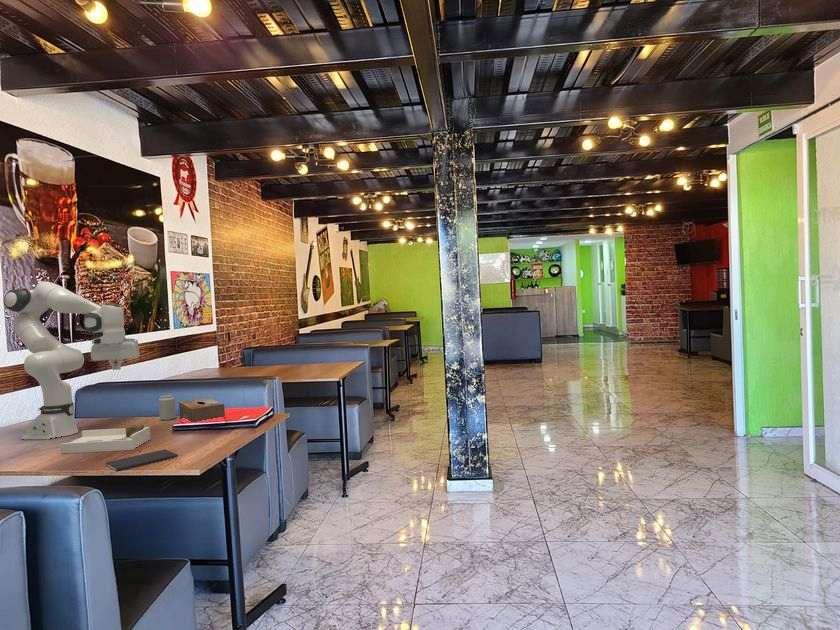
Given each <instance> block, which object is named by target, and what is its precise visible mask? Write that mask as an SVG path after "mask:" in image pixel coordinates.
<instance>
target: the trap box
mask: <svg viewBox="0 0 840 630" xmlns="http://www.w3.org/2000/svg"><path fill="white" fill-rule="evenodd" d="M143 428H144V429H142V430H140V431H138V432H136V433H134V434H133V435H131V436H130V437H126V427H125V428H124V427H123V428H106V429H105V428H104V429H103V428H102V429H88V430H81V437H79V438H76V439H74V440H72V441H70V442H62V443H60V445H59V446H60V454H61V453H68V454H83V453H85V454H87V453H100V452H101V453H102V452H118V451H133V450H135V449H136V447H137V448H138V447H140V446H142V445H143V443H144V442H145V443H147V442H149V441H151V430H150V426H143ZM148 440H149V441H148ZM146 441H147V442H146ZM145 443H144V444H145ZM141 444H142V445H141ZM139 445H140V446H139Z"/></svg>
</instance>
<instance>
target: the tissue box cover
mask: <svg viewBox="0 0 840 630" xmlns="http://www.w3.org/2000/svg"><path fill="white" fill-rule="evenodd" d="M178 405H179V406H178V408H179V409H178V410H179V420H180V419H182V418H185V419H188V420H189V421H191V422H197V421H202V420H207V419H213V418H218V417H224V416H225V417H226V413H225V412H226V410H225V409H226V408H225V404H224V403H222V402H220V401H218V400H216V399H213V398H212V397H204V398H197V399H190V400H189V399H188V400H183V401H179V402H178Z"/></svg>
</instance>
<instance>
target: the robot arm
mask: <svg viewBox="0 0 840 630" xmlns="http://www.w3.org/2000/svg"><path fill="white" fill-rule="evenodd" d="M3 305H4V307H5V308H6V309H7V310H9V311H11V312H14V313H18V314H17V315H16V316H14V318H12V322H11V324H12V327H13V330H14V331H15V334H16V335H17V337H18V338H19V340H20V341H21V342H22V344H24V346H25V348H26V349H27V350H28V351H29V352H30V353H32V354H28V355H27V356H26V357H25V358H24V362H23V368H24V371H25V372H26V373H27V374H28V375H29V376H31V377H33V378H34V379H35V380H36V381H37V382H38V384H39V387H40V388H41V391H42V398H43V405H42V406H41V407H38V410H37V411H40V413H39V415H37V416H36V417H35V418H34V419H33V420H31V421H30V422H29V423H28V424H27V426H26V433H25V434H23V435H21V436H20V440H22V439H24V440H51V439H50V438H52V439H56V438H55V437H57V438H62V437H67V436H71V435H75V434H77V433H79V429H78V427H77V424H76V419H75V415H74V414H75V405H74V401H73V393H72V392H73V391H72V386H71V385H70V383H68V382H65V381H64V380H62V379H61V377H60V374H65V373H70V372H71V373H72V372H73V371H77V370H80V369H81V368H82V367H83V365H84V363H85V356H84V354H83V352H82V351H81V350H79V349H77V348H73V347H70V346H68V345H66V344H64V343H63V342H61V341H60V340H58V339H56V338H55V337H54V336H53V335H52V334H51V333H50V331H49V330H48V329H47V328H46V326H45V325H44V324H43V323H42V321H41V320H43V319H45V318H47V317H48V316H49V315H50V314H51V313H52V311H55V312H58V313H61V314H82V315H84V318H83V321H82V322H83V326H84V328H85V330H86V331H87V332H89V333H93V334H94V333H102V335H101V336H99V337H97V338H93V339H92V340H91V344H92V346H91V348H90V358H91V360H92V361H93V362H96V361H97V362H98V361H108V363H109V364H110V366H111V369H112V371H114V370H115V371H116V370H118V371H120V370H121V369H122V364H123V362H124V360H133V359H134V360H135V359H139V358H140V356H141V355H140V349H139V340H138V339H136V338H134V337H133V338H129V337H127V338H126V331H125V330H126V329H125V327H124V326H125V323H126V318H125V315H124V309H123V307H122V305H121V304H119V303H113V302H106V303H103V304H102V305H101V304H99V303H97V302H95V301H92V300H89V299H87V298H85V297H83V296H81V295H78V294H76V293H74V292H72V291H71V290H69V289H67V288H66V287H64V286H61V285H59V284H57V283H55V282H51V281H40V282H39V283H37V285H36V286H35V287H34V288H33V289H28V288H14V289H13V288H12V289H10V290H9V291H7V292H6V293H5V295H4V297H3ZM115 361H117V365H116V364H115ZM61 436H62V437H61Z"/></svg>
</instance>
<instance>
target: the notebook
mask: <svg viewBox="0 0 840 630" xmlns="http://www.w3.org/2000/svg"><path fill="white" fill-rule="evenodd" d="M177 456H178V457H179V455H178V453H175V452H173V451H170V450H168V449H159V450H156V451H150V452H146V453H143V454H141V453H140V454H138V455H133V456H127V457H124V458H119V459H116V460H111V461H106V462H105V465H106V467H108V468H110V469H111V470H113V471H115V472H122V471H126V470H130V469H134V468H138V467H142V466H147V465H151V463H152V464H155V462H156V463H160V462H164V461H163V460H165V461H167V460H166V459H169V460H171V459H170V458H173V459H175V458H174V457H177ZM159 461H160V462H159Z"/></svg>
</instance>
